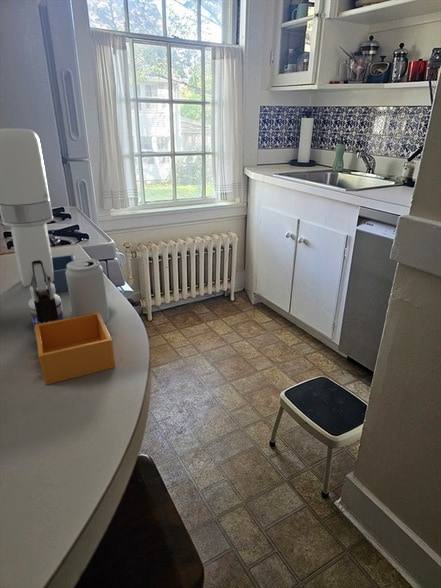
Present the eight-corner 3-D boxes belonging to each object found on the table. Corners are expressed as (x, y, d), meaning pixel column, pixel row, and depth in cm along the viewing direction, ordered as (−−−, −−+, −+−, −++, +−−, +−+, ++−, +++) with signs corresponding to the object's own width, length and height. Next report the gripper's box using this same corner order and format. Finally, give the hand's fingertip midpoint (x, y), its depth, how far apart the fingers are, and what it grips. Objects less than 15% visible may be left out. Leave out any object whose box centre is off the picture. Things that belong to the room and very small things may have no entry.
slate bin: (33, 296, 85) (28, 275, 83) (31, 280, 93) (26, 260, 91) (82, 288, 89) (78, 267, 87) (75, 273, 98) (72, 254, 95)
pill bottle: (29, 337, 69) (18, 292, 66) (43, 323, 74) (34, 280, 70) (58, 338, 69) (49, 293, 65) (70, 324, 74) (63, 281, 70)
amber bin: (45, 385, 57) (38, 356, 55) (40, 350, 66) (34, 324, 63) (115, 367, 61) (111, 339, 59) (102, 337, 70) (99, 312, 68)
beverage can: (108, 329, 72) (99, 268, 67) (71, 332, 71) (60, 270, 66) (111, 313, 78) (103, 256, 73) (77, 315, 77) (67, 258, 72)
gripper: (1, 204, 68) (22, 298, 75) (-1, 227, 54) (26, 340, 62) (47, 200, 71) (63, 291, 78) (57, 221, 57) (75, 330, 65)
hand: (47, 312), depth 70 cm, fingers closed on pill bottle, 5 cm apart
